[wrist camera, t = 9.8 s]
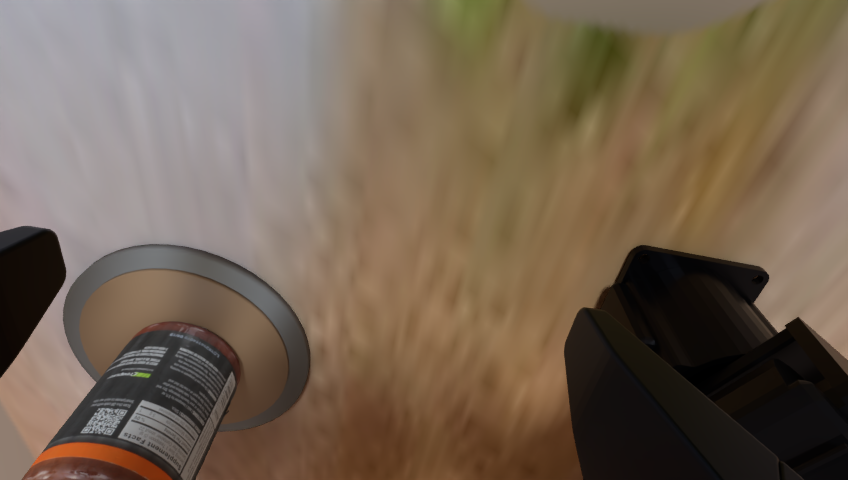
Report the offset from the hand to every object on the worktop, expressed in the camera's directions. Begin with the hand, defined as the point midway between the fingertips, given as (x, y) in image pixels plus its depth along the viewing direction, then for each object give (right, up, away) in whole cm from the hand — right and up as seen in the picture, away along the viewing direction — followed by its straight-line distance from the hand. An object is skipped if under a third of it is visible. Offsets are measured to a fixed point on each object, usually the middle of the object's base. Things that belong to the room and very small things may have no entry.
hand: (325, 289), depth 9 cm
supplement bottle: (-11, -5, +18) cm, 22 cm away
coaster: (-11, -5, +19) cm, 22 cm away
